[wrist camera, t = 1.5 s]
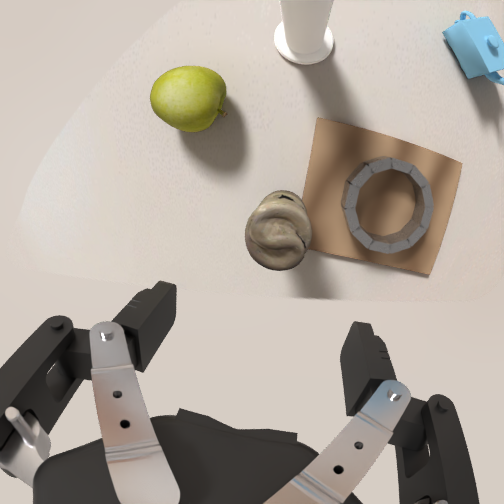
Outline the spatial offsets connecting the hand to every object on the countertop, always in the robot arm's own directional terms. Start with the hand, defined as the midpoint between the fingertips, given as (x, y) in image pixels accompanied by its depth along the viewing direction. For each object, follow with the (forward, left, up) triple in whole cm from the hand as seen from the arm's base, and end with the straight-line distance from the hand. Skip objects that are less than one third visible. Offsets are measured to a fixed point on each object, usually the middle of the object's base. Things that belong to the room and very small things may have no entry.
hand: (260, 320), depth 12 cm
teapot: (-22, -27, -25) cm, 43 cm away
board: (-12, -3, -25) cm, 28 cm away
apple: (+12, -11, -25) cm, 30 cm away
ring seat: (-12, -3, -25) cm, 28 cm away
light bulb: (0, 0, -25) cm, 25 cm away
